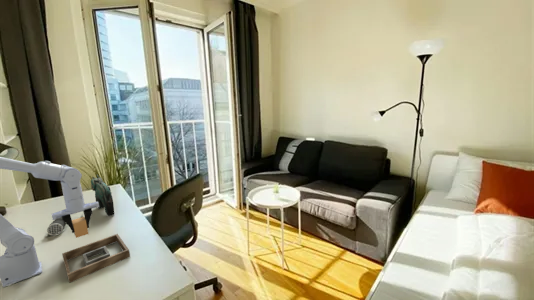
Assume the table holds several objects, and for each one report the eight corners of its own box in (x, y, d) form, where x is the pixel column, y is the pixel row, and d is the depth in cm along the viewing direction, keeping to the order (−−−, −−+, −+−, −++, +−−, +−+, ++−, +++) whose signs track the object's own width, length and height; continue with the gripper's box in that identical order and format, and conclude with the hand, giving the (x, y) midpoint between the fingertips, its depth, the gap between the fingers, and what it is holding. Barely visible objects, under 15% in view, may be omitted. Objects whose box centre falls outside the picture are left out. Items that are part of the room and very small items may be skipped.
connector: (76, 237, 95) (72, 223, 93) (74, 234, 97) (71, 220, 96) (88, 233, 97) (85, 219, 96) (86, 230, 100) (84, 216, 99)
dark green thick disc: (94, 207, 135) (87, 172, 131) (107, 203, 140) (101, 170, 136) (105, 218, 122) (97, 180, 118) (119, 213, 127) (113, 176, 123)
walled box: (69, 282, 79) (67, 274, 79) (63, 260, 90) (62, 253, 90) (130, 256, 91) (129, 249, 91) (118, 240, 103) (117, 233, 102)
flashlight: (57, 222, 121) (55, 211, 119) (71, 219, 123) (69, 209, 122) (48, 236, 107) (45, 225, 106) (64, 233, 110) (61, 222, 109)
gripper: (94, 189, 102) (100, 219, 105) (48, 200, 92) (55, 233, 95) (97, 193, 97) (103, 225, 100) (49, 205, 87) (57, 240, 90)
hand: (80, 229), depth 97 cm, fingers closed on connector, 4 cm apart
